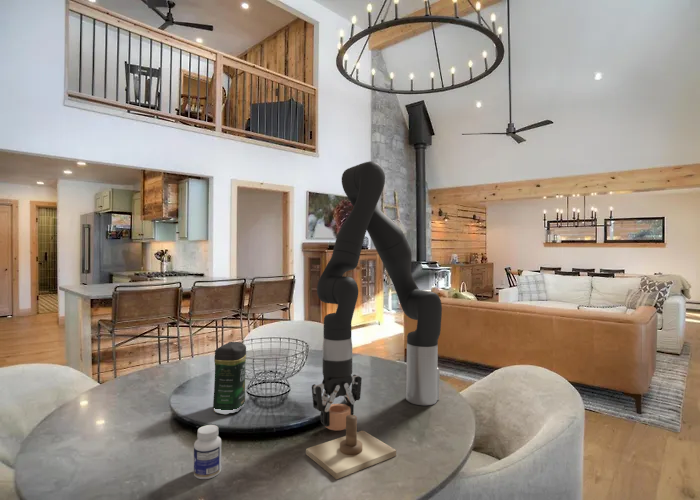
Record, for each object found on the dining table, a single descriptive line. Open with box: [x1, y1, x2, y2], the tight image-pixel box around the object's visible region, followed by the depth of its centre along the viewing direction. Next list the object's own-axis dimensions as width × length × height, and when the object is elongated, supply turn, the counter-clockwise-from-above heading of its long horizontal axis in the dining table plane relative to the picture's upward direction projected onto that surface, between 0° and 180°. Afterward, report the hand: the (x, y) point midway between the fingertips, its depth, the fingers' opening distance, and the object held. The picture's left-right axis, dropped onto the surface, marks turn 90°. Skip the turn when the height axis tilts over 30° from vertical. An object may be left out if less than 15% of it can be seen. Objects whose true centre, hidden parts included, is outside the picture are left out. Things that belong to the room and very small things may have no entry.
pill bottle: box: [193, 424, 223, 480], centre depth 82 cm, size 5×5×9 cm
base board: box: [305, 430, 397, 480], centre depth 89 cm, size 16×12×1 cm
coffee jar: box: [212, 341, 247, 410], centre depth 114 cm, size 10×8×19 cm
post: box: [340, 414, 362, 455], centre depth 89 cm, size 5×5×7 cm
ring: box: [324, 403, 351, 431], centre depth 101 cm, size 6×6×4 cm
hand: (337, 421), depth 101 cm, fingers closed on ring, 6 cm apart
